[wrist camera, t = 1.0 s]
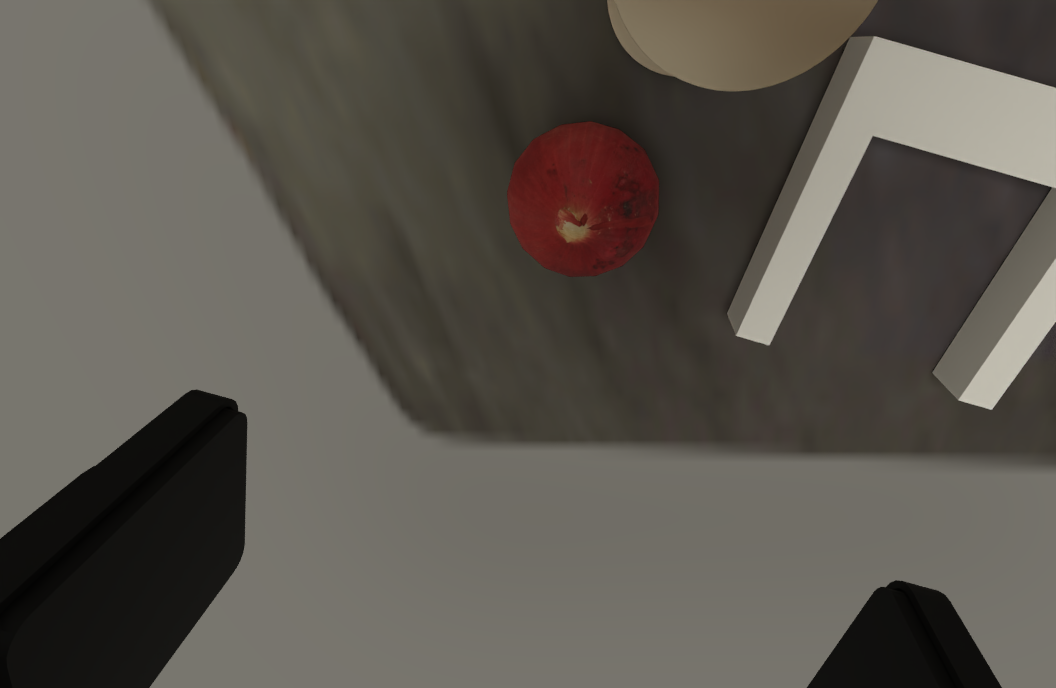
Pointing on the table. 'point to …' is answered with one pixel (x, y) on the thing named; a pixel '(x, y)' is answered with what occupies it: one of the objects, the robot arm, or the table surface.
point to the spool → (734, 37)
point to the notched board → (938, 127)
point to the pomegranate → (583, 199)
